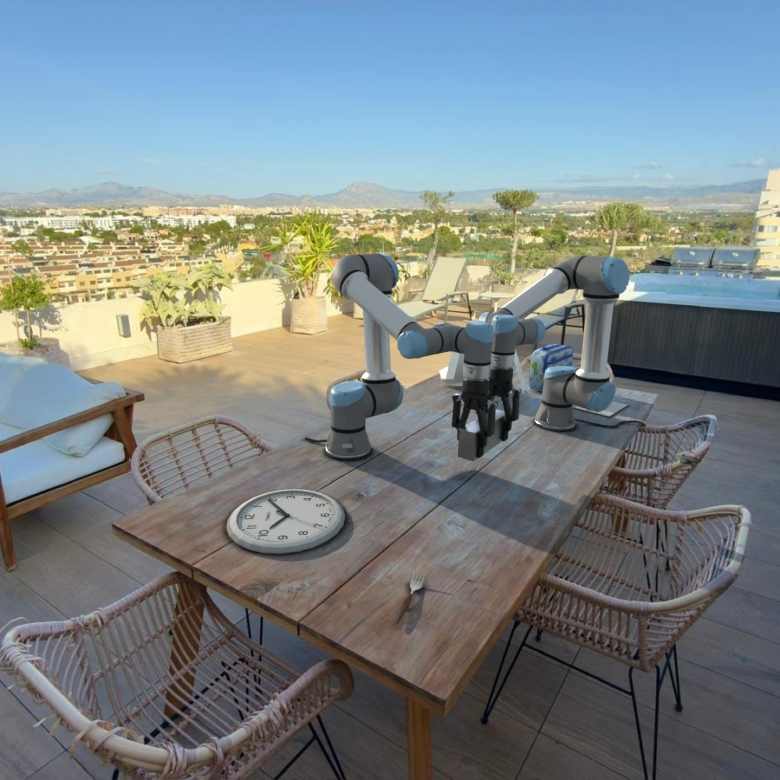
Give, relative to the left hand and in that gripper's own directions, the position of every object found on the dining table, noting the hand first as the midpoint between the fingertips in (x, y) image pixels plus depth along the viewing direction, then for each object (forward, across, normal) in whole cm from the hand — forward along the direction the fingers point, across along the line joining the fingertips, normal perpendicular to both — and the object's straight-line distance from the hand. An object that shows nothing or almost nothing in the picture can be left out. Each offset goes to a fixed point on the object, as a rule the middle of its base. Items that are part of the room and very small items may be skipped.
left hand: (471, 453), depth 153 cm
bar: (+1, 0, +8) cm, 8 cm away
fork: (+10, +15, -53) cm, 56 cm away
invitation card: (+10, +11, +99) cm, 100 cm away
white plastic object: (+10, -40, +84) cm, 93 cm away
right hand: (0, 0, +16) cm, 16 cm away
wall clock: (+10, -27, -47) cm, 56 cm away
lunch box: (+10, -17, +111) cm, 113 cm away
